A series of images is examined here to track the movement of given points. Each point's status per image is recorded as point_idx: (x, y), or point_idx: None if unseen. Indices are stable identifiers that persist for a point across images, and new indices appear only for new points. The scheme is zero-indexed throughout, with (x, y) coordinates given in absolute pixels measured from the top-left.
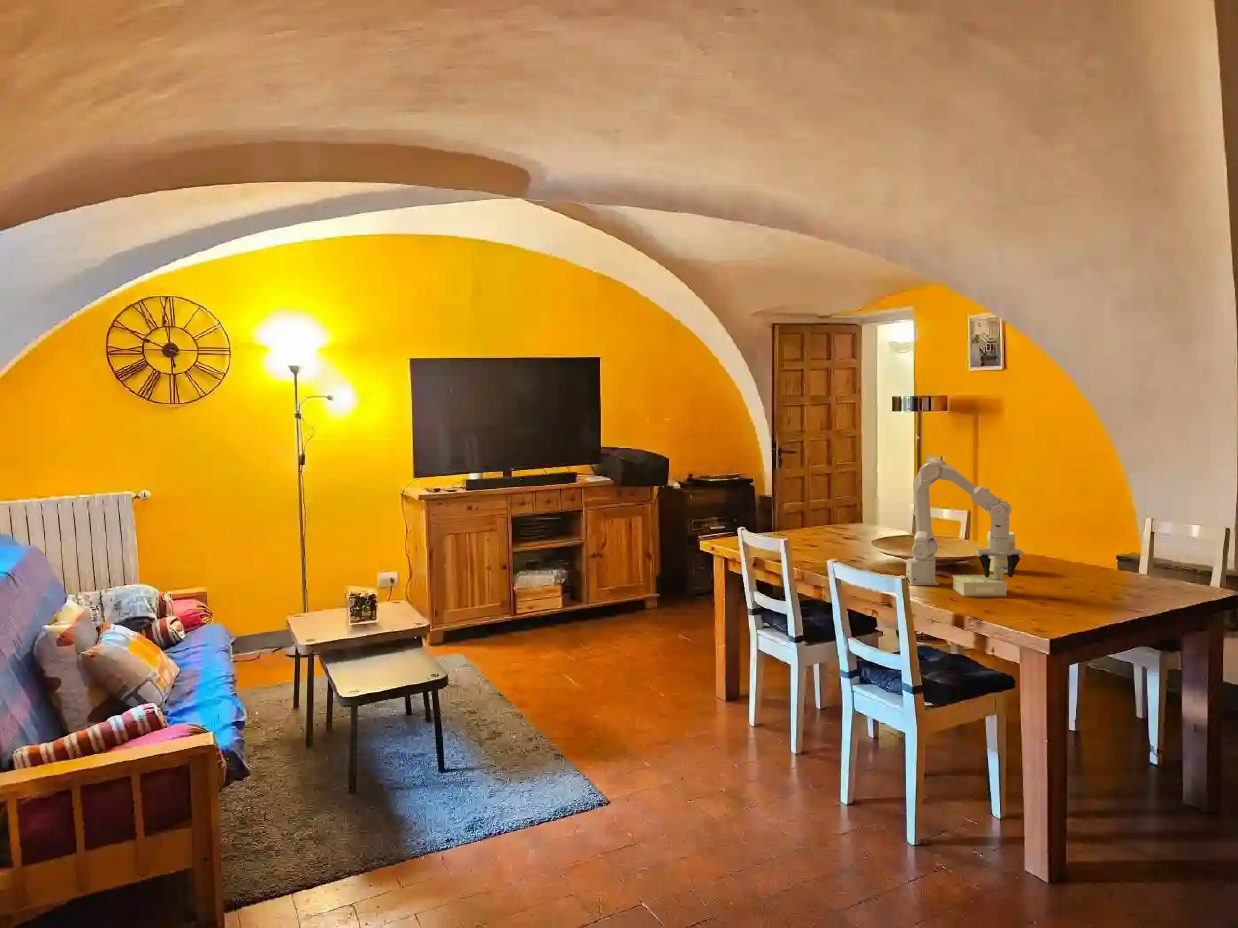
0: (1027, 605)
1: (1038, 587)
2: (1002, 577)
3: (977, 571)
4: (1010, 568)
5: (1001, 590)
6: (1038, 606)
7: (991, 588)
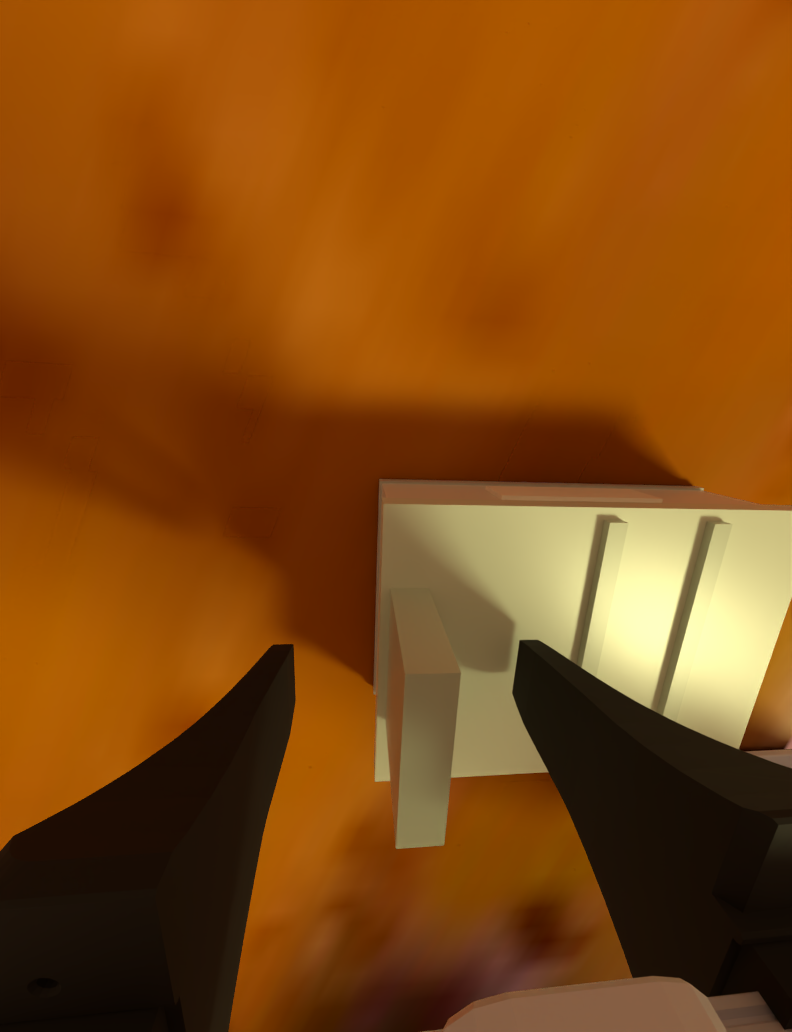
0: (331, 139)
1: (30, 726)
2: (402, 604)
3: (300, 1024)
4: (263, 739)
5: (428, 491)
6: (238, 81)
7: (523, 494)
